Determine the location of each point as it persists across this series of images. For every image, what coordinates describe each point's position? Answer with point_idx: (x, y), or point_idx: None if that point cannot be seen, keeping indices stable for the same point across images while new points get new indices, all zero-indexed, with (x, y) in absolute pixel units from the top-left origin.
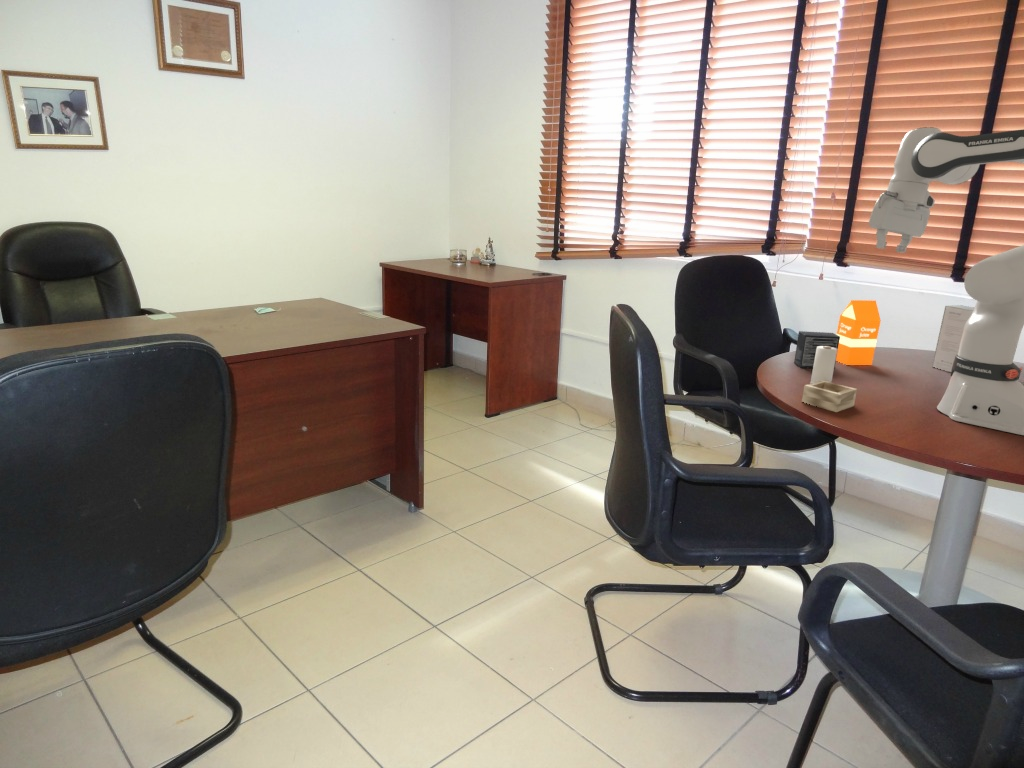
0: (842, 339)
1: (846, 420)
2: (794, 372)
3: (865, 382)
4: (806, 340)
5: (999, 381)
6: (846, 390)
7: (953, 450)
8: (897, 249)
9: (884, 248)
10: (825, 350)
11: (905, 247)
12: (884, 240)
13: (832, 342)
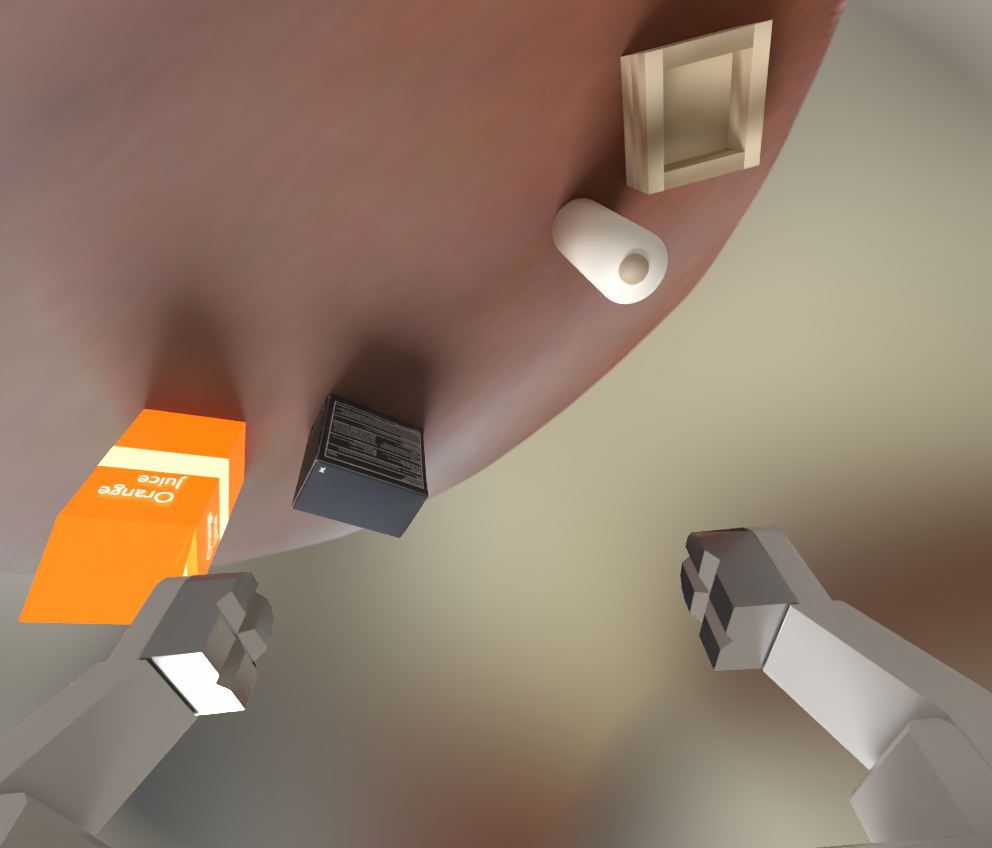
0: (223, 505)
1: None
2: (478, 398)
3: (337, 261)
4: (421, 481)
5: None
6: (699, 54)
7: None
8: (259, 638)
9: (699, 532)
10: (664, 247)
11: (155, 635)
12: (843, 612)
13: (341, 453)
